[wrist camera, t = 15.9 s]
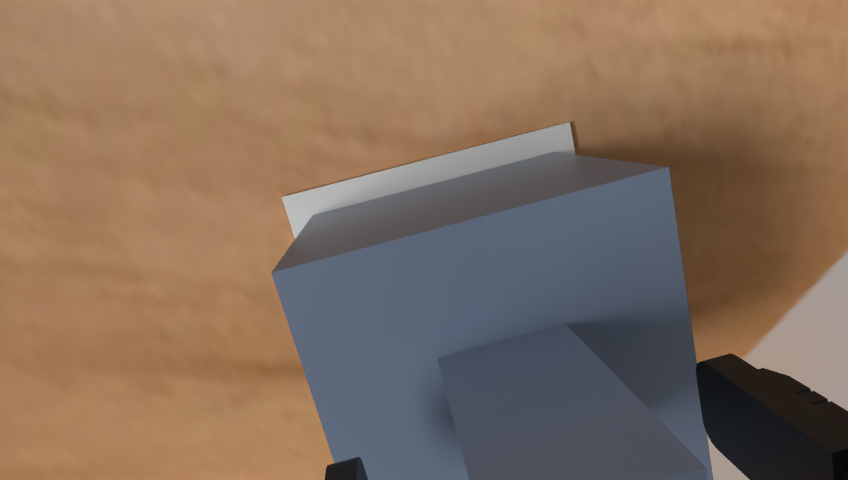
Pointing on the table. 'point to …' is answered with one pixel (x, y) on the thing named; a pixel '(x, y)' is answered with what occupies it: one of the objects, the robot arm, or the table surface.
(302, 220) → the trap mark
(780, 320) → the table surface
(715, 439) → the robot arm
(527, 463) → the cover
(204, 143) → the table surface
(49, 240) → the table surface
